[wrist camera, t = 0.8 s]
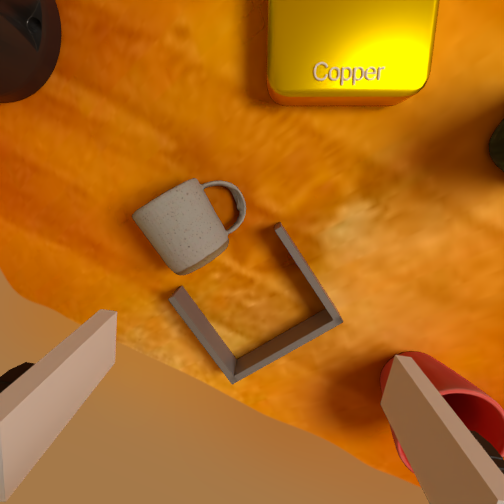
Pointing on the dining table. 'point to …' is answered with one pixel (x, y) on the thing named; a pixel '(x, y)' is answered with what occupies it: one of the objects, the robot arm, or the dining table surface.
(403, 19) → the element tile
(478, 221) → the dining table surface
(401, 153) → the dining table surface
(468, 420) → the flower pot
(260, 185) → the dining table surface
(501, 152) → the coffee jar
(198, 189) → the ceramic mug
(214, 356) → the box
